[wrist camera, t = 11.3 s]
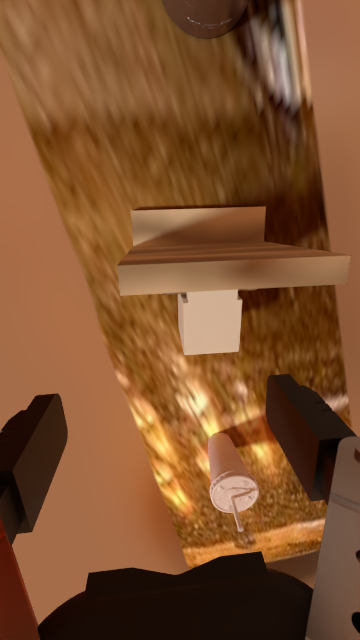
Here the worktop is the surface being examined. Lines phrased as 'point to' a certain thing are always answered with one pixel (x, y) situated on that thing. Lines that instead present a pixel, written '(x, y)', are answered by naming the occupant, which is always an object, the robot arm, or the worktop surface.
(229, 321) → the wall box
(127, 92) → the worktop surface
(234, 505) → the smoothie
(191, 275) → the cleat board
